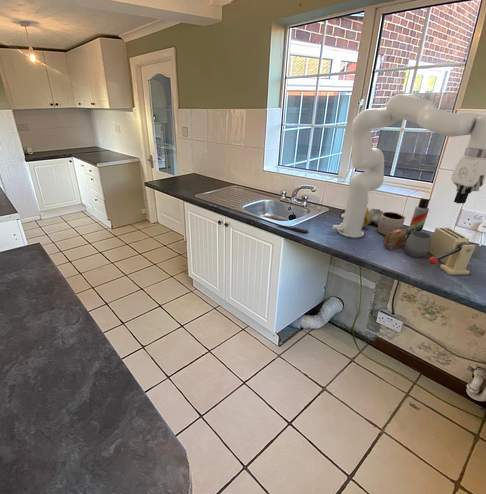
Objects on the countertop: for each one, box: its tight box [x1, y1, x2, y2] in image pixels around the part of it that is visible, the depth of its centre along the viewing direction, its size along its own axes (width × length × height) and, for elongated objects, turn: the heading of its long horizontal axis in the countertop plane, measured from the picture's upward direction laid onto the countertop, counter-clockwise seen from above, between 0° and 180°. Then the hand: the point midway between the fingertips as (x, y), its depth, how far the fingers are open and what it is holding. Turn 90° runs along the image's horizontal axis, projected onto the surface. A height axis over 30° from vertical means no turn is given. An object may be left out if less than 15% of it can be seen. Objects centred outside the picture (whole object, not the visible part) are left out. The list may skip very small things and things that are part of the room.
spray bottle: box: [407, 197, 431, 237], centre depth 153 cm, size 6×6×20 cm
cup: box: [404, 231, 432, 258], centre depth 137 cm, size 10×9×10 cm
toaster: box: [427, 227, 470, 265], centre depth 134 cm, size 6×12×12 cm, turn 1°
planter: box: [377, 211, 406, 236], centre depth 159 cm, size 11×11×10 cm
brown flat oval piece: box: [383, 228, 409, 251], centre depth 145 cm, size 15×3×8 cm, turn 117°
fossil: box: [368, 208, 384, 226], centre depth 174 cm, size 18×11×15 cm
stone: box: [362, 206, 370, 228], centre depth 165 cm, size 13×10×10 cm
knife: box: [276, 225, 308, 234], centre depth 165 cm, size 17×1×3 cm
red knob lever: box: [428, 242, 470, 265], centre depth 123 cm, size 15×3×3 cm, turn 90°
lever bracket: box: [439, 240, 477, 275], centre depth 124 cm, size 8×6×13 cm
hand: (459, 202), depth 116 cm, fingers closed
